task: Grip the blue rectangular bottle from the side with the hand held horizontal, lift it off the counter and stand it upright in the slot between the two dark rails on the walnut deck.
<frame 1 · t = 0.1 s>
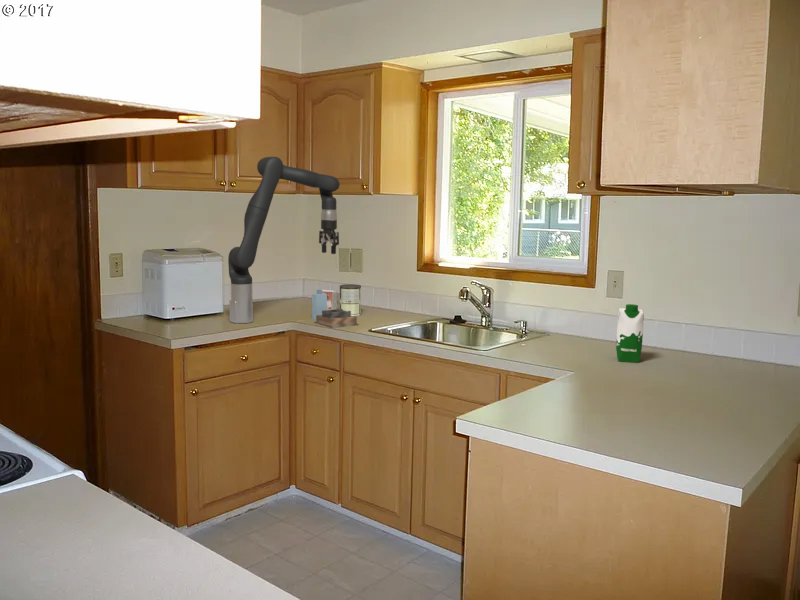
hand: (328, 253, 331), 29 cm above the worktop, tool pointing down, fingers open, 8 cm apart
coffee can: (350, 315, 333), on the worktop
milk carton: (627, 360, 245), on the worktop
small box: (327, 312, 340), on the worktop
blue rectangular bottle: (319, 319, 317), on the worktop
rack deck: (336, 323, 307), on the worktop
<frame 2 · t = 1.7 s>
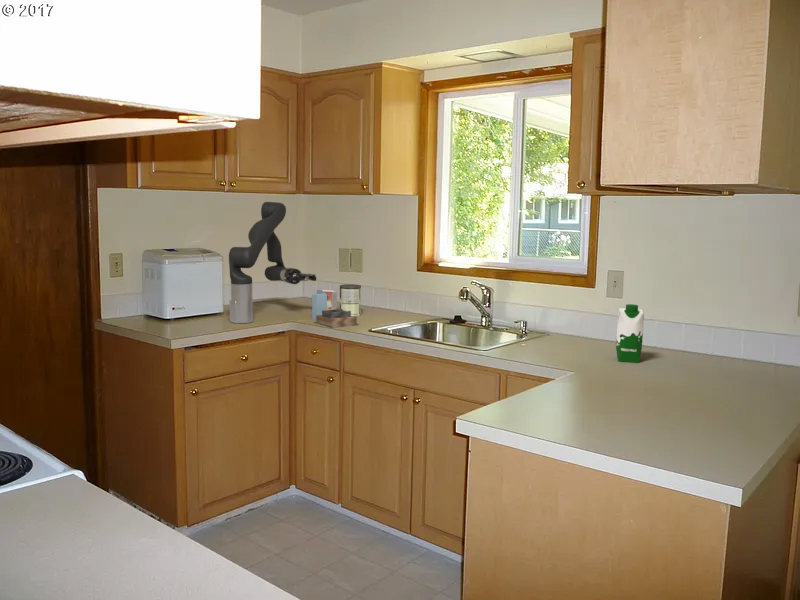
hand: (307, 279, 323), 18 cm above the worktop, tool horizontal, fingers open, 8 cm apart
nothing on the worktop moved.
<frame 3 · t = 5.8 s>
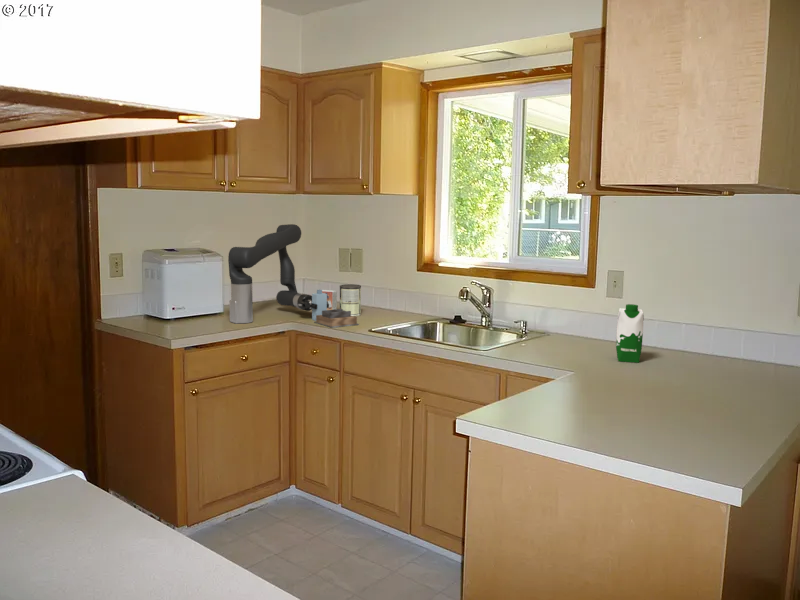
hand: (322, 306, 314), 7 cm above the worktop, tool horizontal, fingers closed on blue rectangular bottle, 5 cm apart
blue rectangular bottle: (319, 319, 317), on the worktop, touching gripper
everything else where it was.
when the fingers open (11 cm above the worktop, at t = 10.1 s): blue rectangular bottle drops 1 cm, resting on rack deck.
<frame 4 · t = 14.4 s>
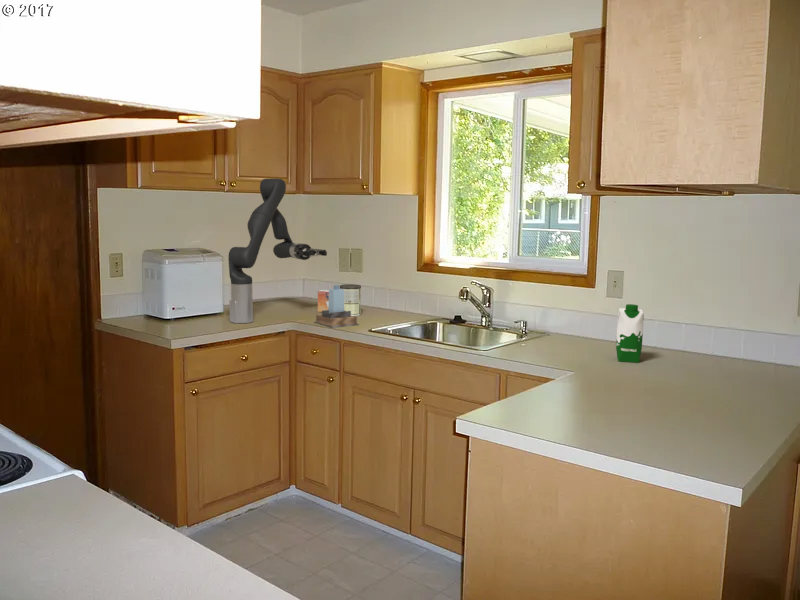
hand: (317, 253, 316), 30 cm above the worktop, tool horizontal, fingers open, 8 cm apart
blue rectangular bottle: (336, 316, 307), point 3 cm above the worktop, touching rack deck
everything else where it was.
at the end: blue rectangular bottle inside the target area on the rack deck (0.0 cm from its centre), point 3.4 cm above the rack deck's base; blue rectangular bottle tilted 0°; the gripper is holding nothing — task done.
